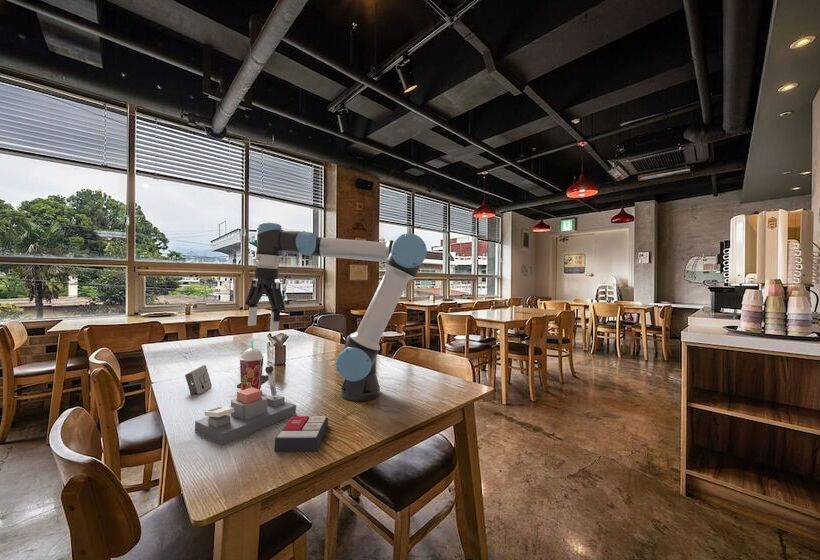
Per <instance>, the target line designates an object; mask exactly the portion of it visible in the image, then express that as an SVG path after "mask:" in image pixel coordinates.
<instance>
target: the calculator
mask: <svg viewBox="0 0 820 560" xmlns="http://www.w3.org/2000/svg"><path fill="white" fill-rule="evenodd" d="M328 428H329V417H327V416H326V415H315V416H314V415H312V416H308V415H305V416H304V415H301V416H300V415H299V416H297V415H293V416H291V418H290V419H289V420H288V421H287V423H286V424H285V425H284V427H283V428H282V429H281V430H280V432H279V433H278V434H277V436H276V437H275V438H274V449H273V450H274V453H306V452H307V453H313V452H316V453H317V452H318V450H319V448H320V446H321V444H322V440H323V439H324V436H325V433H326V431H327V429H328Z"/></svg>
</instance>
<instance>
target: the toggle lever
mask: <svg viewBox="0 0 820 560" xmlns="http://www.w3.org/2000/svg"><path fill="white" fill-rule="evenodd" d="M265 372H266V374H267V376H268V378H269V379H268V383H269V389H270V392H271V395H272V396H275V395H278V393H277V387H276V384H275V383H276V382H275V377H274V367H273V365H270V364H269V365H267V366H266V367H265Z"/></svg>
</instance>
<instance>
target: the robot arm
mask: <svg viewBox="0 0 820 560" xmlns="http://www.w3.org/2000/svg"><path fill="white" fill-rule="evenodd" d="M256 236H257V237H256V255H255V266H256V267H255V268H254V278H255V279H252V281H251V286H250V289H249V291H248V295H247V296H246V298H245V299H246V300H245V302H244V303H245V305H247V307H248V318H247V326H248V327H250V326H252V327H253V326H257V319H258V303H259V302H260V300H261V298H262V297H263V296H264V295H265V297H267V299H268V302H269V304H270V306H271V311H270V321H269V322H270V323H269V332H278V331H279V328H280V319H281V318H280V317H281V312H282V311H285V310H286V307H285V302H284V298H283V294H282V293H283V292H282V287H281V285H282V284H281V282H280V281H279V282H275V280H277V279H279V269H278V268H279V267H280V252H286V253H294V254H300V255H305V256H307V257H324V258H336V259H348V260H360V261H368V262H369V261H371V262H381V263H382V262H383V263H384V267H385V272H384V274H383V277H382V279H381V280H380V282H379V284H378V287H377V288H376V291H375V292H374V294H373V297H372V299H371V301H370V303H369V305H368V307H367V309H366V311H365V314H364V315H363V318H362V319H361V321H360V323H359V325H358V327H357V329H356V331H354V332H352V333H350V334H349V335H347V337H346V340H345V344H344V346H343V348H342V350H341V351H340V352H339V353H338V355H337V357H336V361H335V366H336V370H337V372H338V374H339V375H340V377H342V378H343V382H342V385H341V387H340V396H341V398H343V399H345V400H347V401H353V402H364V401H371V400H374V399H376V398H378V397H379V396H380V394H381V387H380V383H379V379H378V377H377V356H378V355H379V352H380V349H381V346H380V344H379V343H380V340H381V338H382V336H383V334H384V332H385V330H386V328H387V326H388V323H389V321H390V320H391V318H392V316H393V314H394V311H395V309H396V307H397V305H398V303H399V301H400V299H401V297H402V295H403V293H404V291H405V289H406V287H407V285H408V283H409V281H411V280H415V278H416V276H417V274H418V272H419V270H420V268H421V266H422V264H423V262H424V261H425V260H426V257H427V253H428V251H427V250H428V249H427V245H426V243H425V241H424V240H423V239H422V237H420V236H419V235H417V234H415V233H411V232H409V233H408V232H407V233H403V234H400V235H399V236H398V237H396V239H394V240H392V239H390V240H387V242H383V241H382V242H381V241H372V240H361V239H360V240H359V239H346V238H338V237H337V238H335V237H326V236H325V237H322V236H316V235H315V233H313V232H311V231H310V232H309V231H305V230H302V231H301V230H300V231H299V230H284V229H283V227H282V225H281V224H278V223H275V222H260V223H259V224H258V229H257V234H256Z"/></svg>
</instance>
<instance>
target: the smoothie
mask: <svg viewBox="0 0 820 560" xmlns="http://www.w3.org/2000/svg"><path fill="white" fill-rule="evenodd" d="M250 344H251V345H250V346H251V347H250V348H247V349H246V350H244V351H243V352H242V354H241V356H240V357H239V369H240V370H239V371H240V373H239V374H240V383H241V388H240V391H241V390H245V389H248V388H251V387H253V388H256V389H259V390H262V389H261V388H262V384H261V380H262V375H263V366H264V355H263V353H262V351H261V350H260V349H258V348H255V347H254V340H251V343H250Z"/></svg>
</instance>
